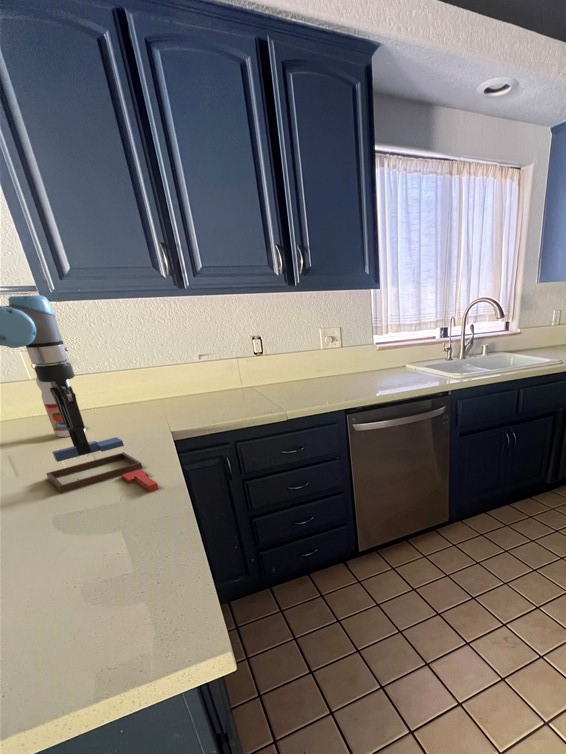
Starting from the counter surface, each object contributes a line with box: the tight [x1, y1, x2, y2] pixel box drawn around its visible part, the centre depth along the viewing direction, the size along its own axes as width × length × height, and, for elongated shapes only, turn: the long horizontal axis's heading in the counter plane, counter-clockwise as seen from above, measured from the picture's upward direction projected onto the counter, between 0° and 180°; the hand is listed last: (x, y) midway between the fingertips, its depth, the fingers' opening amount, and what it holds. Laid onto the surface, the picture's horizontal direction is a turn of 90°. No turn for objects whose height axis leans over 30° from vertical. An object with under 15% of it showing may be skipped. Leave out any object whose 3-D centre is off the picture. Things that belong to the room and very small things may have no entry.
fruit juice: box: [35, 376, 86, 438], centre depth 150 cm, size 9×9×28 cm
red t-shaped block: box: [121, 469, 159, 492], centre depth 112 cm, size 16×5×2 cm, turn 48°
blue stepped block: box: [52, 436, 125, 462], centre depth 116 cm, size 16×5×2 cm, turn 138°
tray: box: [45, 452, 143, 494], centre depth 118 cm, size 20×14×2 cm
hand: (83, 452), depth 115 cm, fingers closed on blue stepped block, 2 cm apart
